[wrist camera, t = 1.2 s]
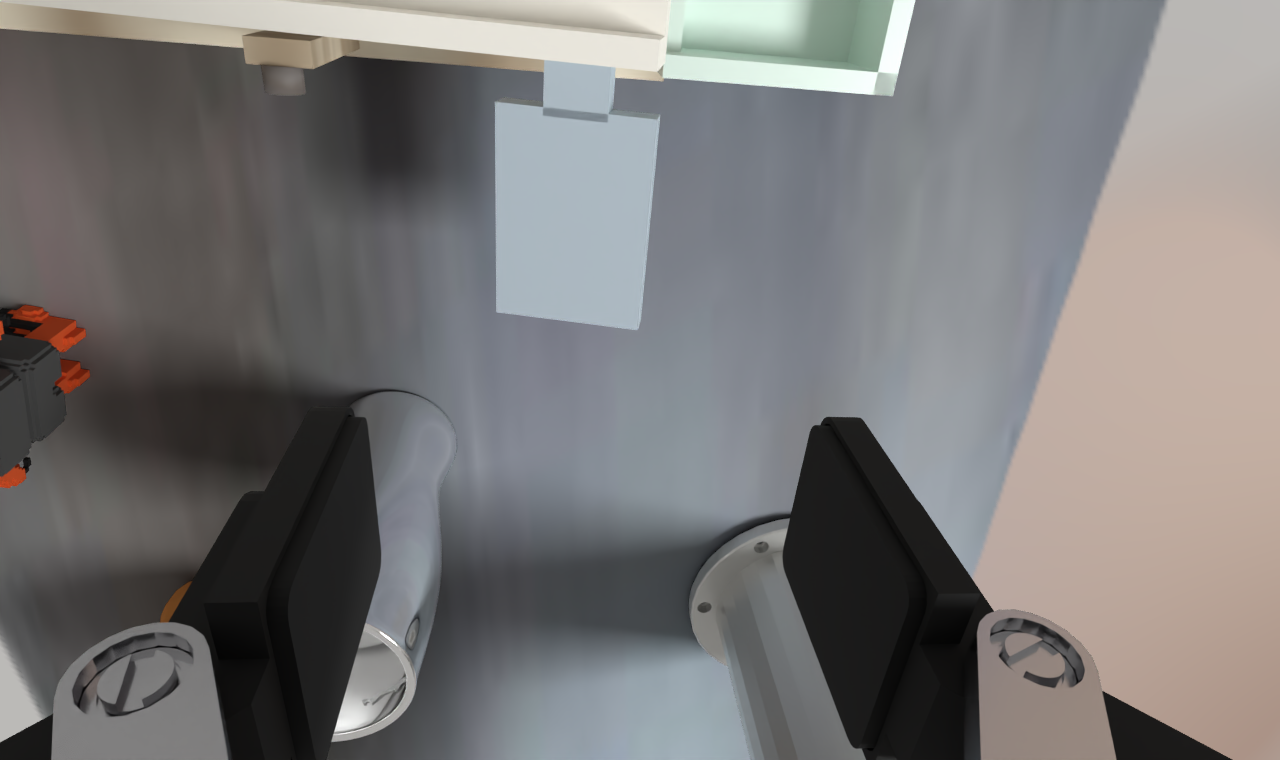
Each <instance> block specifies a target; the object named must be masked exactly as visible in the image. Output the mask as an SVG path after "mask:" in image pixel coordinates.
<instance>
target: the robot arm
mask: <svg viewBox="0 0 1280 760" xmlns="http://www.w3.org/2000/svg"><path fill="white" fill-rule="evenodd" d="M380 568H381V543H380V534H379V525H378V515H377V506H376V497H375V487H374V478H373V469H372V459H371V450H370V441H369V432H368V424H367V420H366V418H365V417H355V414H354V411H353V409H352V408H351V407H311V409H310V410H309V411H308V413H307V415H306V417H305V419H304V421H303V422H302V424H301V426H300V428H299V430H298V431H297V433H296V435H295V437H294V439H293V441H292V442H291V444H290V446H289V448H288V450H287V451H286V453H285V455H284V457H283V459H282V461H281V462H280V464H279V466H278V468H277V470H276V471H275V473H274V475H273V477H272V479H271V481H270V482H269V484H268V486H267V488H266V490H265V491H250V492H248V493H246V494H244V496H243V497H242V498H241V499H240V501H239V502H238V504H237V506H236V508H235V509H234V511H233V513H232V514H231V516H230V518H229V519H228V521H227V523H226V525H225V526H224V528H223V530H222V531H221V533H220V535H219V536H218V538H217V540H216V542H215V543H214V545H213V547H212V548H211V550H210V552H209V554H208V555H207V557H206V559H205V560H204V562H203V564H202V565H201V567H200V569H199V571H198V572H197V574H196V576H195V577H194V579H193V581H192V582H191V584H190V586H189V588H188V589H187V591H186V593H185V594H184V596H183V598H182V599H181V601H180V603H179V605H178V606H177V608H176V610H175V611H174V613H173V615H172V616H171V618H170V620H169V622H167V623H151V624H146V625H141V626H137V627H132V628H130V629H127V630H125V631H122V632H120V633H117V634H115V635H112V636H110V637H108V638H106V639H105V640H103V641H101V642H100V643H98V644H96V645H95V646H93V647H91V648H90V649H88V650H87V651H86V652H85V653H84V654H82V655H81V656H80V657H79V658H78V659H77V660H76V661H75V662H74V663H72V664H71V665H70V667H69V668H68V670H67V671H66V672H65V674H64V675H63V677H62V678H61V680H60V681H59V683H58V686H57V690H56V693H55V697H54V708H53V714H52V715H50V716H48V717H46V718H45V719H43V720H41V721H39V722H37V723H35V724H34V725H32V726H30V727H28V728H26V729H24V730H23V731H21V732H19V733H17V734H15V735H13V736H11V737H9V738H8V739H6V740H4V741H2V742H0V760H326V758H327V755H328V751H329V748H330V745H331V741H332V738H333V734H334V731H335V727H336V724H337V720H338V717H339V713H340V710H341V706H342V703H343V699H344V696H345V692H346V689H347V685H348V682H349V678H350V675H351V671H352V668H353V664H354V661H355V657H356V654H357V650H358V647H359V644H360V640H361V637H362V633H363V630H364V626H365V623H366V619H367V616H368V612H369V609H370V605H371V602H372V598H373V595H374V591H375V588H376V584H377V581H378V577H379V573H380ZM689 615H690V619H691V624H692V629H693V632H694V634H695V636H696V638H697V641H698V643H699V644H700V645H701V646H702V648H703V649H704V650H705V651H706V652H707V654H709V655H710V656H711V657H713V658H714V659H715V660H717V661H718V662H720V663H722V664H724V665H726V666H728V670H729V674H730V678H731V682H732V686H733V690H734V694H735V698H736V702H737V706H738V710H739V714H740V718H741V722H742V726H743V730H744V734H745V739H746V743H747V747H748V751H749V755H750V759H751V760H1232V759H1230V758H1228V757H1226V756H1224V755H1223V754H1221V753H1219V752H1217V751H1215V750H1213V749H1211V748H1209V747H1207V746H1206V745H1204V744H1202V743H1200V742H1198V741H1196V740H1194V739H1192V738H1190V737H1189V736H1187V735H1185V734H1183V733H1181V732H1179V731H1177V730H1175V729H1173V728H1172V727H1170V726H1168V725H1166V724H1164V723H1162V722H1160V721H1158V720H1156V719H1155V718H1153V717H1150V716H1149V715H1147V714H1145V713H1143V712H1141V711H1139V710H1137V709H1135V708H1134V707H1132V706H1130V705H1128V704H1126V703H1124V702H1122V701H1121V700H1118V699H1117V698H1115V697H1113V696H1111V695H1109V694H1107V693H1105V692H1103V691H1102V688H1101V684H1100V679H1099V674H1098V670H1097V668H1096V665H1095V663H1094V660H1093V658H1092V657H1091V655H1090V654H1089V652H1088V651H1087V650H1086V649H1085V647H1084V646H1083V645H1082V644H1081V643H1080V642H1079V641H1078V640H1077V639H1076V638H1075V637H1074V636H1072V635H1071V634H1070V633H1069V632H1068V631H1067V630H1065V629H1063V628H1062V627H1060V626H1058V625H1057V624H1055V623H1053V622H1052V621H1050V620H1047V619H1045V618H1043V617H1040V616H1038V615H1035V614H1033V613H1029V612H1024V611H1019V610H997V611H993V609H992V608H991V606H990V605H989V603H988V602H987V600H986V599H985V598H984V596H983V594H982V593H981V592H980V590H979V589H978V587H977V586H976V584H975V583H974V581H973V580H972V578H971V577H970V575H969V574H968V572H967V571H966V569H965V568H964V567H963V565H962V564H961V562H960V561H959V559H958V558H957V556H956V555H955V553H954V552H953V550H952V549H951V547H950V546H949V544H948V543H947V542H946V540H945V539H944V537H943V536H942V534H941V533H940V531H939V530H938V528H937V527H936V525H935V524H934V522H933V521H932V519H931V518H930V517H929V515H928V514H927V512H926V511H925V509H924V508H923V506H922V505H921V503H920V502H919V501H918V500H917V499H916V497H915V496H914V494H913V493H912V492H911V490H910V489H909V487H908V486H907V484H906V483H905V481H904V480H903V478H902V477H901V475H900V474H899V472H898V471H897V469H896V468H895V466H894V465H893V463H892V462H891V461H890V459H889V458H888V456H887V455H886V453H885V452H884V450H883V449H882V447H881V446H880V444H879V443H878V441H877V440H876V438H875V437H874V435H873V434H872V433H871V431H870V430H869V428H868V427H867V425H866V424H865V422H864V421H863V420H862V419H861V418H855V417H826V418H824V420H823V421H822V423H821V425H815V426H813V427H812V429H811V431H810V434H809V439H808V443H807V447H806V452H805V456H804V460H803V465H802V469H801V473H800V477H799V482H798V486H797V490H796V495H795V499H794V503H793V508H792V512H791V516H790V518H788V519H782V520H776V521H773V522H769V523H766V524H763V525H759V526H757V527H755V528H752V529H750V530H748V531H746V532H744V533H742V534H740V535H738V536H736V537H735V538H733V539H732V540H730V541H729V542H727V543H726V544H724V545H723V546H722V547H721V548H720V549H719V550H717V551H716V552H715V553H714V554H713V555H712V556H711V557H710V558H709V559H708V560H707V562H706V563H705V564H704V566H703V567H702V568H701V570H700V571H699V573H698V575H697V577H696V579H695V581H694V583H693V585H692V588H691V593H690V597H689Z"/></svg>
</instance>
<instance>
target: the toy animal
mask: <svg viewBox="0 0 1280 760" xmlns="http://www.w3.org/2000/svg"><path fill="white" fill-rule="evenodd" d="M85 336H86V331H85V329H82V328H76V320H70V319H64V318H58V317H52V316H49V314H48V312H44V310H43V308H41V307H35V306H29V305H24V306H22V307H21V308H19V309H18V310H11V309H5V308H2V309H1V310H0V487H4V488H10V487H11V486H17V485H18V484H19V483H22V482H23V481H24V480H25V479H26V473H27V472H28V471H29V466H30V465H31V460H30V458H28V457H26V456H27V455H28V454H29V449H30V448H31V443H34V442H35V441H41V440H43V439H44V438H46V437H47V436H48V435H49V434H50V433H51V432H52V431H54V430H55V429H56V428H57V427H58V426H59V425H60V424H61V423H62V422H63V421H64V416H66V406H65V398H64V394H65V393H70V392H71V391H72V390H74V389H75V388H76V387H77V386H80V385H81V384H82V383H83V382H85V381H86V380H87V379H88V378H89V377H90V372H89V370H85V369H81V367H80V362H77V361H70V360H64V359H60V355H59V352H65V351H67V350H68V349H69V348H70V347H72V346H73V345H75V344H77V343H78V342H79V341H80V340H82V339H83V338H84V337H85ZM24 457H25V458H24ZM23 458H24V459H23ZM22 459H23V463H24V467H23V468H22V467H20V465H19V464H18V463H19V462H20V461H21V460H22Z"/></svg>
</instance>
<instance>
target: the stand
mask: <svg viewBox="0 0 1280 760" xmlns="http://www.w3.org/2000/svg"><path fill="white" fill-rule="evenodd" d="M0 28H1V29H14V30H26V31H39V32H51V33H64V34H76V35H89V36H101V37H114V38H126V39H139V40H151V41H164V42H176V43H189V44H201V45H214V46H227V47H239V48H244V54H245V60H246V64H256V65H261V69H262V76H263V83H264V90H265V93H267V94H272V95H282V96H296V95H304V94H306V89H305V81H304V72H303V68H308V69H314V68H317V67H319V66H321V65H324V64H326V63H328V62H331V61H333V60H335V59H338V58H340V57H342V56H352V57H364V58H377V59H389V60H402V61H414V62H427V63H440V64H452V65H465V66H477V67H490V68H502V69H515V70H527V71H540V72H544V60H540V59H531V58H521V57H512V56H503V55H493V54H484V53H474V52H465V51H456V50H446V49H437V48H427V47H418V46H409V45H399V44H390V43H380V42H371V41H362V40H352V39H343V38H333V37H324V36H315V35H305V34H296V33H286V32H277V31H268V30H258V29H249V28H239V27H230V26H221V25H211V24H202V23H192V22H183V21H174V20H164V19H155V18H145V17H136V16H127V15H117V14H108V13H98V12H89V11H80V10H70V9H61V8H51V7H42V6H33V5H23V4H14V3H4V2H0ZM615 78H628V79H640V80H653V81H664V78H662V77H661V76H660V75H659V74H658V72H653V71H644V70H634V69H625V68H616V71H615Z"/></svg>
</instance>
